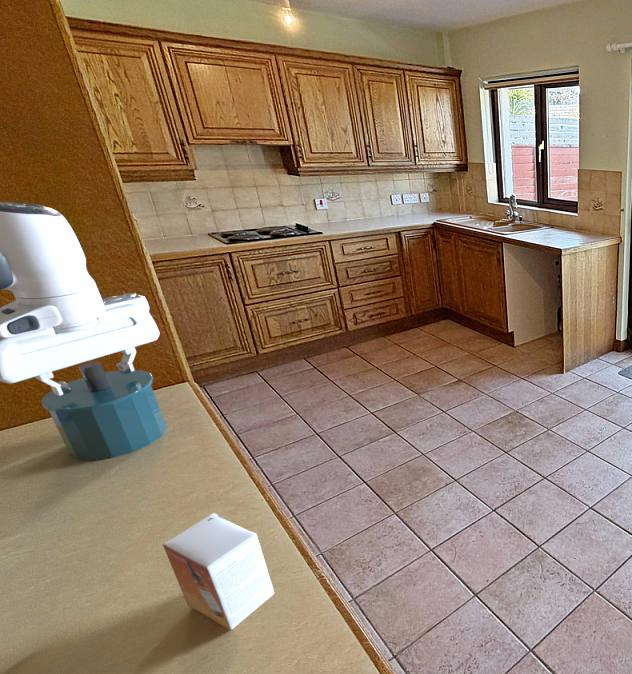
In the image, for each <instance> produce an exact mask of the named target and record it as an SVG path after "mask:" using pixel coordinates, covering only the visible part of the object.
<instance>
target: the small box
mask: <svg viewBox="0 0 632 674" xmlns="http://www.w3.org/2000/svg"><path fill="white" fill-rule="evenodd" d="M162 547H163V549H164V552H165V554H166V555H167V556H166V557H167V558H168V561H169V563H170V566H171V569H172V570H173V573H174V576H175V578H176V580H177V583H178V585H179V587H180V591H181V593H182V595H183V597H184V601H185V602H186V605H187V606H188V607H189V608H191V609H193V610H196V611H197V612H199V613H200V614H202V615H204V616H206V617H207V618H209V619H211V620H212V621H213V622H215V623H217V624H219V625H220V626H222V627H224V628H225V629H227V630H229V631H232V630H233V629H235V628H236V627H237V626H238V625H240V623H242V622H244V620H245V619H247V618H248V617H249V616H250V615H252V613H253V612H255V611H256V610H257V609H258V608H260V607H261V606H262V605H263V604H264V603H265V602H266V601H268V600H269V599H270V598H272V596H274V594H275V590H274V586H273V583H272V580H271V577H270V574H269V571H268V567H267V564H266V560H265V557H264V554H263V551H262V546H261V544H260V541H259V538H258V534H257V533H256V532H253V531H251V530H249V529H246V528H244V527H242V526H239V525H238V524H236V523H233V522H232V521H229V520H227V519H225V518H223V517H222V516H220V515H219V514H217V513H215V512H213V513H211V514H209V515H208V516H206V517H204V518H202V519H201V520H200V521H198V522H196V523H195V524H193V525H192V526H189V527H187V529H185V530H183V531H182V532H180V533H179V534H177V535H175V536H174V537H172V538H170V539H169V540H168V541H166V542H164V543H163V544H162Z"/></svg>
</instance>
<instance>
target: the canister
mask: <svg viewBox="0 0 632 674" xmlns="http://www.w3.org/2000/svg"><path fill="white" fill-rule="evenodd" d="M48 412H49V415H50V416H51V419H52V420H53V422H54V424H55V427H56V428H57V431H58V433H59V435H60V437H61V439H62V441H63V443H64V445H65V448H66V449H67V451H68V453H69V454H70V457H72V458H75V459H76V460H78V461H90V462H93V461H95V462H96V461H102V460H108V459H113V458H118V457H121V456H123V455H128V454H131V453H133V452H136V451H138V450H141V449H142V448H145V447H146V446H150V445H151V444H152V443H153V442H155V441H157V440H158V439H160V438H161V437H162V436H163V435H164V434H165V432H166V431H167V430H168V426H167V422H166V419H165V417H164V414H163V412H162V410H161V406H160V404H159V401H158V399H157V396H156V393H155V391H154V388H153V386H152V384H151V385H150V386H149V387H148V388H147V389H146V390H144V391H143V392H141V393H139V394H137V395H135V396H133V397H131V398H128V399H126V400H123V401H120V402H118V403H114V404H111V405H108V406H104V407H100V408H95V409H90V410H84V411H76V412H54V411H49V410H48Z"/></svg>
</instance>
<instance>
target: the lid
mask: <svg viewBox="0 0 632 674" xmlns="http://www.w3.org/2000/svg"><path fill="white" fill-rule="evenodd" d="M78 369H79V371H80V373H81V376H82V377H81V378H78V379H75V380H72V381H69V382H67V383H68V385H69V389H70V390H71V392H69V393H67V394H64V395H61V396H58V395H55V393H54V392H53V390H52V389H51V391H49V392H48V393H47V394H45V395H44V396H43V397H42V400H41V405H42V407H43V408H44V409H45V410H47V411H48V412H49V411H54V412H76V411H84V410H90V409H95V408H100V407H104V406H108V405H111V404H114V403H118V402H120V401H123V400H126V399H128V398H131V397H133V396H135V395H137V394H139V393H141V392H143V391H144V390H146V389H147V388H148V387H149V386H150V385H152V384H153V382H154V377H153V375H152V373H150V372H149V371H145V370H141V369H140V370H139V369H134V371H133V372H130V373H127V374H123V373H120V372H119V370H112V371H105V370H104V367H103V365H102V363H101V361H90V362H89V361H88V362H85V363H82V364H80V365H79V367H78Z"/></svg>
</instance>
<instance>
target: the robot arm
mask: <svg viewBox="0 0 632 674" xmlns="http://www.w3.org/2000/svg"><path fill="white" fill-rule="evenodd" d="M87 269H88V268H87V258H86V256H85V253H84V251H83V248H82V246H81V244H80V242H79V239H78V237H77V235H76V233H75V231H74V230H73V228H72V226H71V225H70V223H69V222H68V220H67V219H66V218H65V216H64V215H63V214H62V213H61V212H60V211H58V210H56V209H53V208H52V207H48V206H45V205H42V204H37V203H29V202H16V201H12V202H7V201H0V291H3V290H7V291H10V292H11V293H12V294H13V297H14V298H15V300H13V301H11V302H9V303H7V304H5V305H3V306H1V307H0V382H2V383H4V384H7V385H8V384H10V385H11V384H15V383H18V382H22V381H25V380H26V381H27V380H29V379H32V378H35V379H36V380H38V381H40V382H42V383H44V384H46V385H48V386H50V388H51V391H52V390H53V392H54V393H55V395H58V396H61V395H64V394H67V393H69V392H71V390H70V389H69V385H68V383H69V382H65V381H63V380H61V381H57V382H56V381H54V380H53V378H54V373H53V372H55V371H59V370H62V369H66V368H69V367H72V366H75V365H79V364H83V363H87V362H89V361H93V360H95V359H99V358H102V357H105V356H106V357H107V356H109V355H112V354H115V353H119V352H120V353H121V354H122V359H121V361H120V362H118V363H117V362H116V363H115V365H116V368H117V369H118V370H117V371H119V372H120V373H123V374H127V373H130V372H133V371H134V370H135V367H134V364H133V362H134V360H135V357H136V354H137V350H136V347H139V346H142V345H146V344H149V343H152V342H153V343H154V342H155V341H157V340H158V338H159V337H160V330H159V328H158V325H157V324H156V322H155V319H154V318H153V316H152V315H151V313H150V305H149V303H148V300H147V298H146V297H145V296H143V295H142V294H139V293H133V292H128V293H123V294H120V295H114V296H108V297H102V295H101V294H100V291H99V288H98V286H97V284H96V281H95V280H94V278H93V277H92V276H91V275H90V273H89V272H88V270H87Z"/></svg>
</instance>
